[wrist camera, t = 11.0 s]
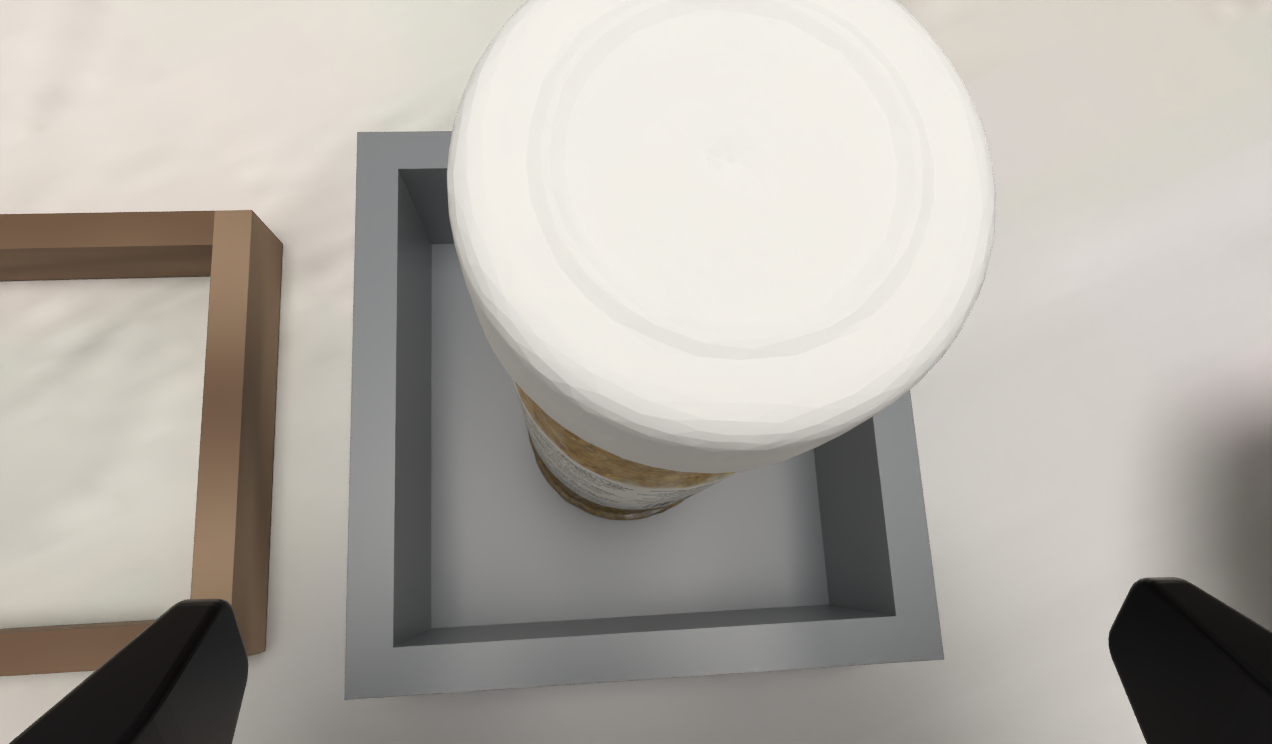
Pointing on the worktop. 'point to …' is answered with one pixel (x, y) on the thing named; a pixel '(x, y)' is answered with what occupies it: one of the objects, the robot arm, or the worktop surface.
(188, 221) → the walnut holder
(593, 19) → the sprinkles bottle
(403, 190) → the grey bin
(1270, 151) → the worktop surface
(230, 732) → the robot arm
